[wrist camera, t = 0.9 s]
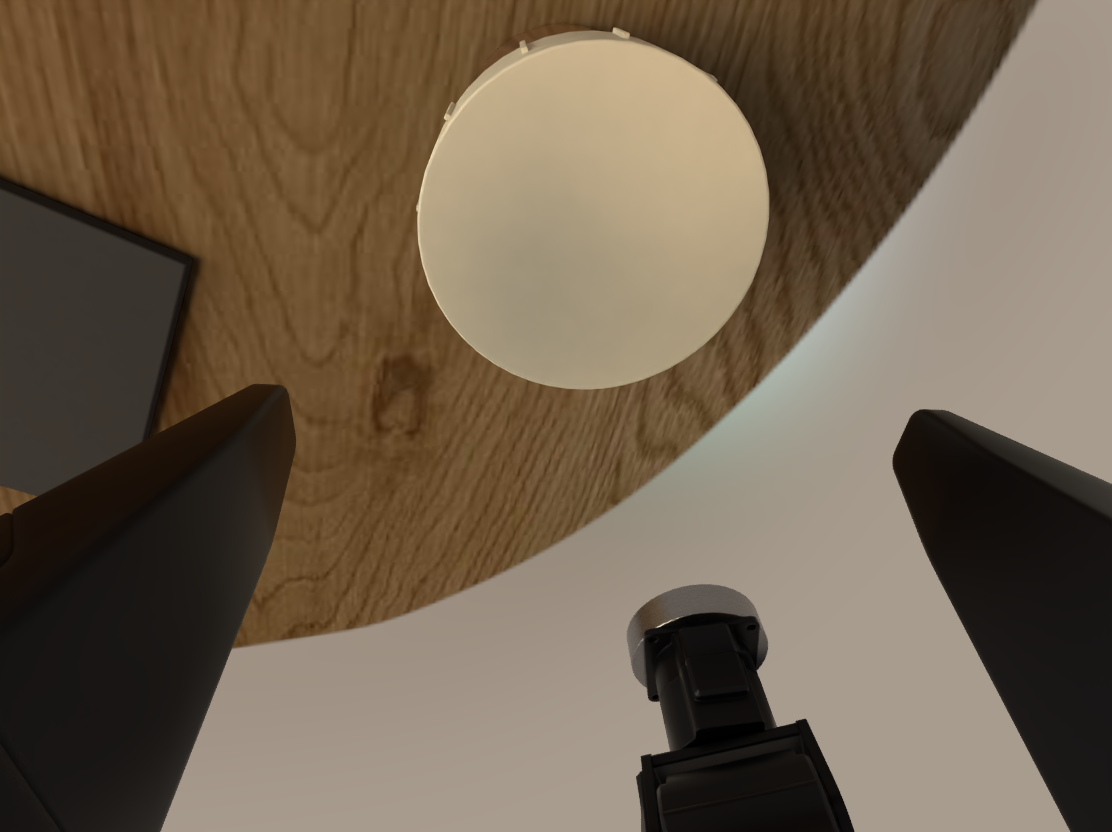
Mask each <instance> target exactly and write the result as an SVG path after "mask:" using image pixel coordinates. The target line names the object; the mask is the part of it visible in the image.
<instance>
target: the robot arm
mask: <svg viewBox="0 0 1112 832" xmlns="http://www.w3.org/2000/svg"><path fill="white" fill-rule="evenodd" d="M295 447H296V436H295V429H294V423H293V417H292V411H291V405H290V399H289V394H288V392H287V390H286V388H285V387H284V386H282V385H271V384H253V385H250V386H248V387H246V388H244V389H243V390H241V391H239V392H237V393H235V394H233V395H231V396H229V397H227V398H225V399H223V400H222V401H220V402H218V403H216V404H214V405H212V406H210V407H208V408H206V409H204V410H202V411H200V412H199V413H197V414H195V415H193V416H191V417H189V418H187V419H185V420H183V421H181V422H179V423H177V424H176V425H174V426H172V427H170V428H168V429H166V430H164V431H162V432H160V433H158V434H156V435H154V436H153V437H151V438H149V439H147V440H145V441H143V442H141V443H139V444H137V445H135V446H133V447H132V448H130V449H128V450H126V451H124V452H122V453H120V454H118V455H116V456H114V457H112V458H110V459H109V460H107V461H105V462H103V463H101V464H99V465H97V466H95V467H93V468H91V469H89V470H87V471H86V472H84V473H82V474H80V475H78V476H76V477H74V478H72V479H70V480H68V481H66V482H64V483H63V484H61V485H59V486H57V487H55V488H53V489H51V490H49V491H47V492H45V493H43V494H41V495H40V496H38V497H36V498H34V499H32V500H30V501H28V502H26V503H24V504H22V505H20V506H19V507H17V508H15V509H14V510H13V512H12V514H10V513H5V514H3V515H1V516H0V832H160V831H161V829H162V826H163V824H164V821H165V818H166V816H167V813H168V811H169V808H170V806H171V803H172V800H173V798H174V795H175V793H176V790H177V788H178V785H179V783H180V780H181V777H182V775H183V772H184V770H185V767H186V764H187V762H188V759H189V757H190V754H191V752H192V749H193V746H194V744H195V741H196V739H197V736H198V734H199V731H200V728H201V726H202V723H203V721H204V718H205V716H206V713H207V711H208V708H209V706H210V703H211V700H212V698H213V695H214V692H215V690H216V688H217V685H218V683H219V680H220V677H221V675H222V672H223V670H224V667H225V665H226V662H227V659H228V657H229V654H230V652H231V649H232V647H233V644H234V642H235V639H236V636H237V634H238V631H239V629H240V626H241V624H242V621H243V618H244V616H245V613H246V611H247V608H248V606H249V603H250V601H251V598H252V595H253V593H254V590H255V588H256V585H257V583H258V580H259V577H260V575H261V572H262V570H263V567H264V565H265V562H266V559H267V557H268V554H269V551H270V548H271V545H272V542H273V538H274V535H275V531H276V527H277V523H278V519H279V515H280V511H281V507H282V503H283V499H284V495H285V490H286V486H287V482H288V478H289V474H290V470H291V466H292V462H293V458H294V454H295ZM893 470H894V473H895V475H896V478H897V480H898V483H899V485H900V488H901V491H902V493H903V496H904V498H905V501H906V503H907V506H908V508H909V511H910V514H911V516H912V519H913V521H914V524H915V527H916V529H917V532H918V534H919V537H920V539H921V542H922V544H923V547H924V549H925V551H926V553H927V556H928V558H929V560H930V562H931V564H932V566H933V568H934V570H935V572H936V574H937V575H938V578H939V580H940V582H941V584H942V586H943V587H944V589H945V591H946V593H947V595H948V597H949V599H950V601H951V603H952V605H953V607H954V609H955V611H956V612H957V614H958V616H959V618H960V620H961V622H962V624H963V626H964V628H965V630H966V632H967V634H968V636H969V638H970V639H971V641H972V643H973V645H974V647H975V649H976V651H977V653H978V655H979V657H980V659H981V660H982V663H983V664H984V666H985V668H986V670H987V672H988V674H989V676H990V678H991V680H992V681H993V684H994V685H995V687H996V689H997V691H998V693H999V695H1000V697H1001V699H1002V701H1003V703H1004V705H1005V707H1006V709H1007V711H1008V713H1009V714H1010V716H1011V718H1012V720H1013V722H1014V724H1015V726H1016V728H1017V730H1018V732H1019V734H1020V736H1021V738H1022V739H1023V741H1024V743H1025V745H1026V747H1027V749H1028V751H1029V753H1030V755H1031V757H1032V759H1033V761H1034V763H1035V764H1036V766H1037V768H1038V770H1039V772H1040V774H1041V776H1042V778H1043V780H1044V782H1045V784H1046V786H1047V787H1048V790H1049V791H1050V793H1051V795H1052V797H1053V799H1054V801H1055V803H1056V805H1057V807H1058V809H1059V811H1060V813H1061V815H1062V816H1063V818H1064V820H1065V822H1066V824H1067V826H1068V828H1069V830H1070V832H1112V484H1110V483H1108V482H1106V481H1104V480H1102V479H1099V478H1097V477H1095V476H1093V475H1090V474H1088V473H1086V472H1083V471H1081V470H1079V469H1077V468H1075V467H1072V466H1070V465H1068V464H1066V463H1063V462H1061V461H1059V460H1056V459H1054V458H1052V457H1050V456H1047V455H1045V454H1043V453H1041V452H1039V451H1036V450H1034V449H1032V448H1030V447H1027V446H1025V445H1023V444H1020V443H1018V442H1016V441H1014V440H1011V439H1009V438H1007V437H1005V436H1003V435H1000V434H998V433H996V432H994V431H991V430H989V429H987V428H985V427H983V426H980V425H978V424H976V423H974V422H971V421H969V420H967V419H964V418H962V417H960V416H958V415H956V414H953V413H951V412H949V411H945V410H928V409H927V410H926V409H922V410H919V411H916V412H915V413H914V414H913V415H912V416H911V417H910V419H909V421H908V423H907V425H906V428H905V430H904V432H903V434H902V436H901V439H900V441H899V443H898V445H897V447H896V450H895V452H894V455H893ZM759 631H760V624H759V622H758V619H757V618H756V617H755V616H744V617H737V618H729V619H721V620H713V621H705V622H698V623H690V624H682V625H674V626H666V627H659V628H651V629H648V630H646V631H645V632H644V634H643V641H644V655H645V670H646V685H647V695H648V699H649V700H650V701H652V702H660V705H661V710H662V714H663V719H664V724H665V728H666V733H667V738H668V743H669V748H670V752H665V753H661V754H656V755H653V756H652V755H651V754H648V755H643V756H641V762H642V771H641V772H640V774H638V775H637V776H636V779H637V785H638V792H639V798H640V805H641V832H854V829H853V826H852V823H851V820H850V817H849V815H848V812H847V809H846V806H845V804H844V801H843V799H842V796H841V794H840V791H839V789H838V787H837V785H836V782H835V780H834V778H833V776H832V773H831V771H830V769H829V767H828V765H827V763H826V761H825V758H824V756H823V754H822V752H821V750H820V748H819V746H818V743H817V741H816V739H815V737H814V735H813V733H812V730H811V729H810V726H809V724H808V722H807V720H806V719H802V720H798V721H796V723H793V724H789V725H785V726H780V727H777V726H776V723H775V720H774V717H773V715H772V712H771V709H770V707H769V704H768V701H767V698H766V695H765V693H764V690H763V687H762V684H761V681H760V679H759V676H758V673H757V670H756V665H757V654H758V643H759Z"/></svg>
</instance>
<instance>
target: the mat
mask: <svg viewBox="0 0 1112 832" xmlns="http://www.w3.org/2000/svg"><path fill="white" fill-rule="evenodd" d="M191 265H192V259H191V258H189V257H187V256H184V255H182V254H180V253H177V252H175V251H172V250H170V249H168V248H165V247H163V246H160V245H158V244H156V243H153V242H151V241H148V240H146V239H144V238H141V237H139V236H136V235H134V234H132V233H129V232H127V231H124V230H122V229H120V228H117V227H115V226H112V225H110V224H108V223H105V222H103V221H100V220H98V219H96V218H93V217H91V216H88V215H86V214H83V213H81V212H79V211H76V210H74V209H71V208H69V207H67V206H64V205H62V204H59V203H57V202H55V201H52V200H50V199H47V198H45V197H43V196H40V195H38V194H35V193H33V192H31V191H28V190H26V189H23V188H21V187H19V186H16V185H14V184H11V183H9V182H7V181H4V180H2V179H0V486H4V487H7V488H11V489H14V490H18V491H21V492H25V493H28V494H31V495H35V496H40V495H41V494H43V493H45V492H47V491H49V490H51V489H53V488H55V487H57V486H59V485H61V484H63V483H64V482H66V481H68V480H70V479H72V478H74V477H76V476H78V475H80V474H82V473H84V472H86V471H87V470H89V469H91V468H93V467H95V466H97V465H99V464H101V463H103V462H105V461H107V460H109V459H110V458H112V457H114V456H116V455H118V454H120V453H122V452H124V451H126V450H128V449H130V448H132V447H133V446H135V445H137V444H139V443H141V442H143V441H145V440H147V439H148V436H149V432H150V428H151V424H152V420H153V416H154V412H155V408H156V404H157V400H158V396H159V392H160V389H161V385H162V381H163V377H164V373H165V369H166V365H167V361H168V357H169V353H170V349H171V345H172V341H173V337H174V333H175V329H176V325H177V321H178V317H179V313H180V309H181V305H182V301H183V297H184V293H185V289H186V285H187V281H188V277H189V273H190V269H191Z"/></svg>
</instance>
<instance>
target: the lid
mask: <svg viewBox="0 0 1112 832" xmlns="http://www.w3.org/2000/svg"><path fill="white" fill-rule="evenodd" d="M629 35H630V33H628V32H626V31H624V30H622V29H619V28H615V27H614V28H613V32H604V31H593V30H591V31H575V32H566V33H561V34H557V35H552V36H548V37H544V38H542V39H539V40H536V41H534V42H531V43H528V44H526V42H525V40H523V41H521V42H519V43H520V48H518V49H516V50H514V51H513V52H511V53H509V54H507V55H505V56H504V57H502V58H501V59H500V60H498V61H497V62H496V63H494V64H493V65H492V66H490V67H489V68H488V69H486V70H485V71H484V72H483V73H482V74H481V75H480V76H479V77H478V78H477V79H476V80H475V81H474V82H473V83H472V84H471V85H470V86H469V87H468V88H467V90H466V91H465V92H464V94H463V95H462V96H461V98H460V99H459V100H458V102H457V103H456V104H454V103H453V102H451V104H450V105H449V107H448V110H447V112H446V114H445V116H444V119H445V120H446V122H445V124H444V126H443V128H442V130H441V133H440V135H439V137H438V140H437V142H436V144H435V147H434V149H433V152H432V155H431V157H430V160H429V162H428V165H427V168H426V170H425V174H424V178H423V183H422V187H421V191H420V197H419V201H418V204H417V207H416V211H418V217H417V220H418V242H419V248H420V254H421V260H422V265H423V268H424V271H425V274H426V277H427V281H428V284H429V286H430V288H431V290H432V293H433V295H434V297H435V299H436V301H437V303H438V305H439V307H440V308H441V310H442V311H443V313H444V315H445V316H446V318H447V319H448V321H449V322H450V323H451V325H452V326H453V327H454V328H455V329H456V331H457V332H458V333H459V334H460V335H461V337H462V338H463V339H464V340H465V341H466V342H468V343H469V344H470V345H471V346H472V347H473V348H474V349H475V350H476V351H477V352H478V353H480V354H481V355H483V356H484V357H485V358H487V359H488V360H490V361H491V362H492V363H494V364H495V365H497V366H499V367H501V368H503V369H504V370H506V371H508V372H510V373H512V374H514V375H517V376H519V377H522V378H524V379H527V380H529V381H533V382H536V383H540V384H544V385H547V386H553V387H559V388H566V389H587V390H589V389H602V388H611V387H616V386H621V385H626V384H630V383H633V382H637V381H640V380H643V379H646V378H649V377H651V376H654V375H656V374H658V373H660V372H663V371H665V370H667V369H669V368H671V367H672V366H674V365H676V364H678V363H679V362H681V361H683V360H684V359H686V358H687V357H688V356H690V355H691V354H693V353H694V352H695V351H697V350H698V349H700V348H701V347H702V346H703V345H704V344H705V343H706V342H707V341H709V340H710V339H711V338H712V337H713V336H714V335H715V334H716V333H717V332H718V331H719V330H720V329H721V327H722V326H723V325H724V324H725V323H726V322H727V321H728V320H729V318H730V317H731V316H732V314H733V313H734V311H735V310H736V308H737V307H738V306H739V304H740V303H741V301H742V300H743V298H744V296H745V294H746V292H747V290H748V289H749V287H750V285H751V283H752V281H753V279H754V276H755V274H756V271H757V268H758V266H759V263H760V261H761V257H762V253H763V249H764V246H765V242H766V237H767V229H768V222H769V188H768V181H767V173H766V168H765V165H764V161H763V157H762V154H761V150H760V147H759V145H758V142H757V140H756V138H755V136H754V133H753V131H752V129H751V127H750V125H749V123H748V122H747V120H746V118H745V117H744V115H743V114H742V112H741V111H740V109H739V107H738V106H737V104H736V103H735V102H734V101H733V100H732V99H731V98H730V96H729V95H728V94H727V93H726V92H725V91H724V89H723V88H722V87H721V86H720V85H719V84H717V83H716V82H717V79H716V78H715V77H714V76H712V75H710V74H708V73H706V72H704V71H702V70H701V69H699V68H697V67H696V66H694V65H692V64H691V63H689V62H687V61H686V60H684V59H683V58H681V57H679V56H677V55H675V54H673V53H671V52H668V51H666V50H664V49H662V48H660V47H658V46H655V45H653V44H651V43H648V42H646V41H643V40H641V39H639V38H635V37H631V36H629Z"/></svg>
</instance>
